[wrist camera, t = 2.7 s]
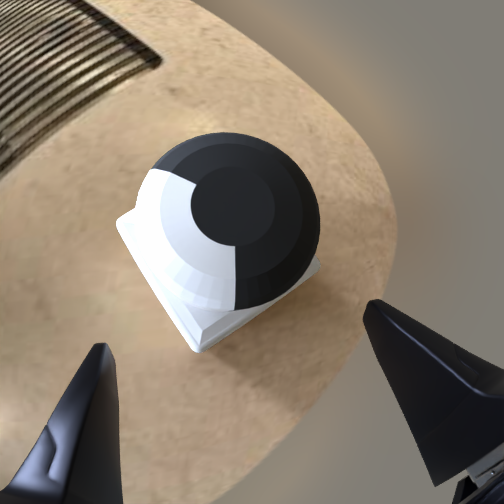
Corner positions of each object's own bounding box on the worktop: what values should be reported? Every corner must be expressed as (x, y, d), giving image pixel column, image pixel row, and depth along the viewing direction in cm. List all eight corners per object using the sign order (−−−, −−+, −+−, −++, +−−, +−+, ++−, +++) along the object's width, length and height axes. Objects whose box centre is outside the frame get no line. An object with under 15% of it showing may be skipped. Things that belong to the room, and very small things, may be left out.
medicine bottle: (225, 198, 22) (261, 82, 10) (283, 283, 21) (382, 242, 10) (137, 252, 20) (77, 173, 8) (196, 343, 19) (199, 379, 8)
